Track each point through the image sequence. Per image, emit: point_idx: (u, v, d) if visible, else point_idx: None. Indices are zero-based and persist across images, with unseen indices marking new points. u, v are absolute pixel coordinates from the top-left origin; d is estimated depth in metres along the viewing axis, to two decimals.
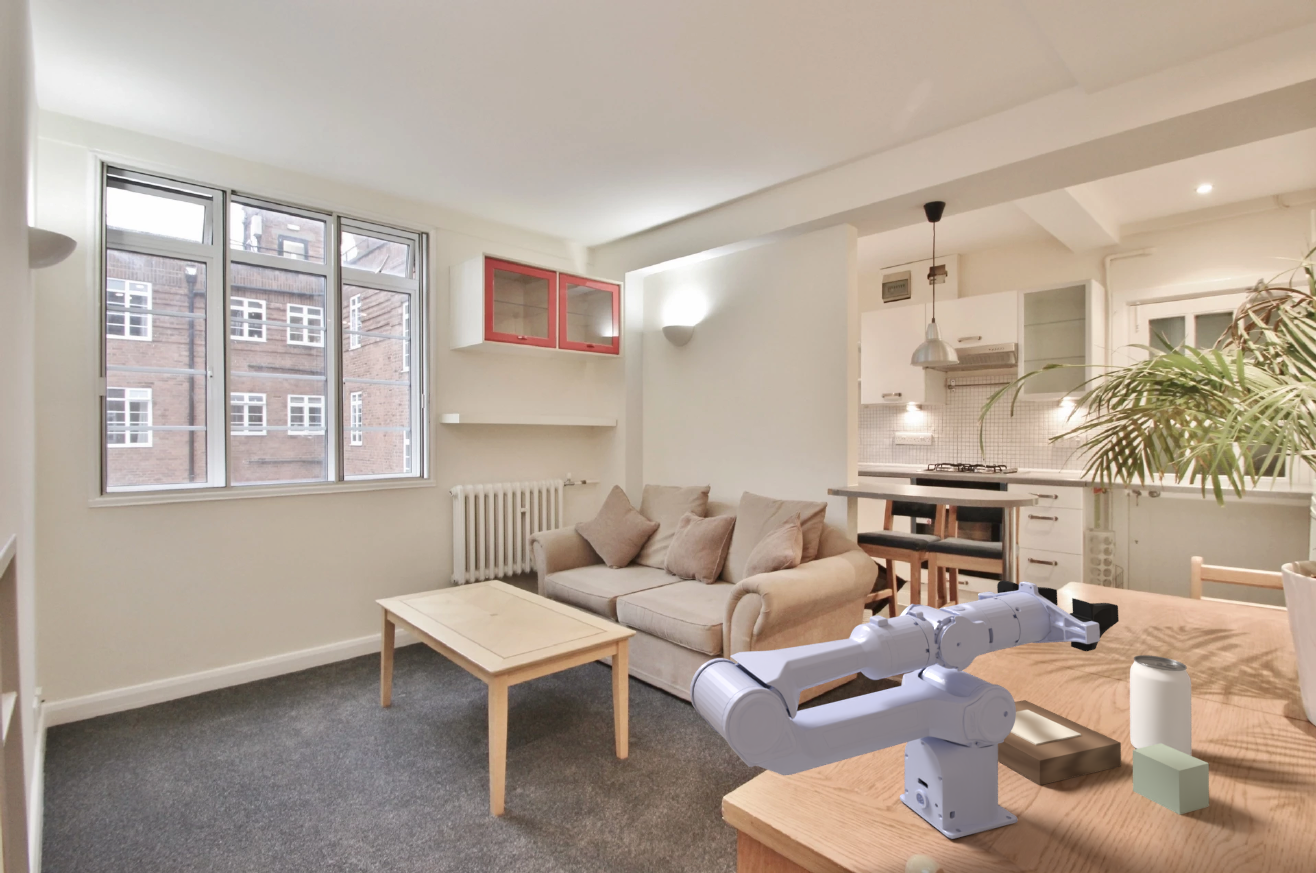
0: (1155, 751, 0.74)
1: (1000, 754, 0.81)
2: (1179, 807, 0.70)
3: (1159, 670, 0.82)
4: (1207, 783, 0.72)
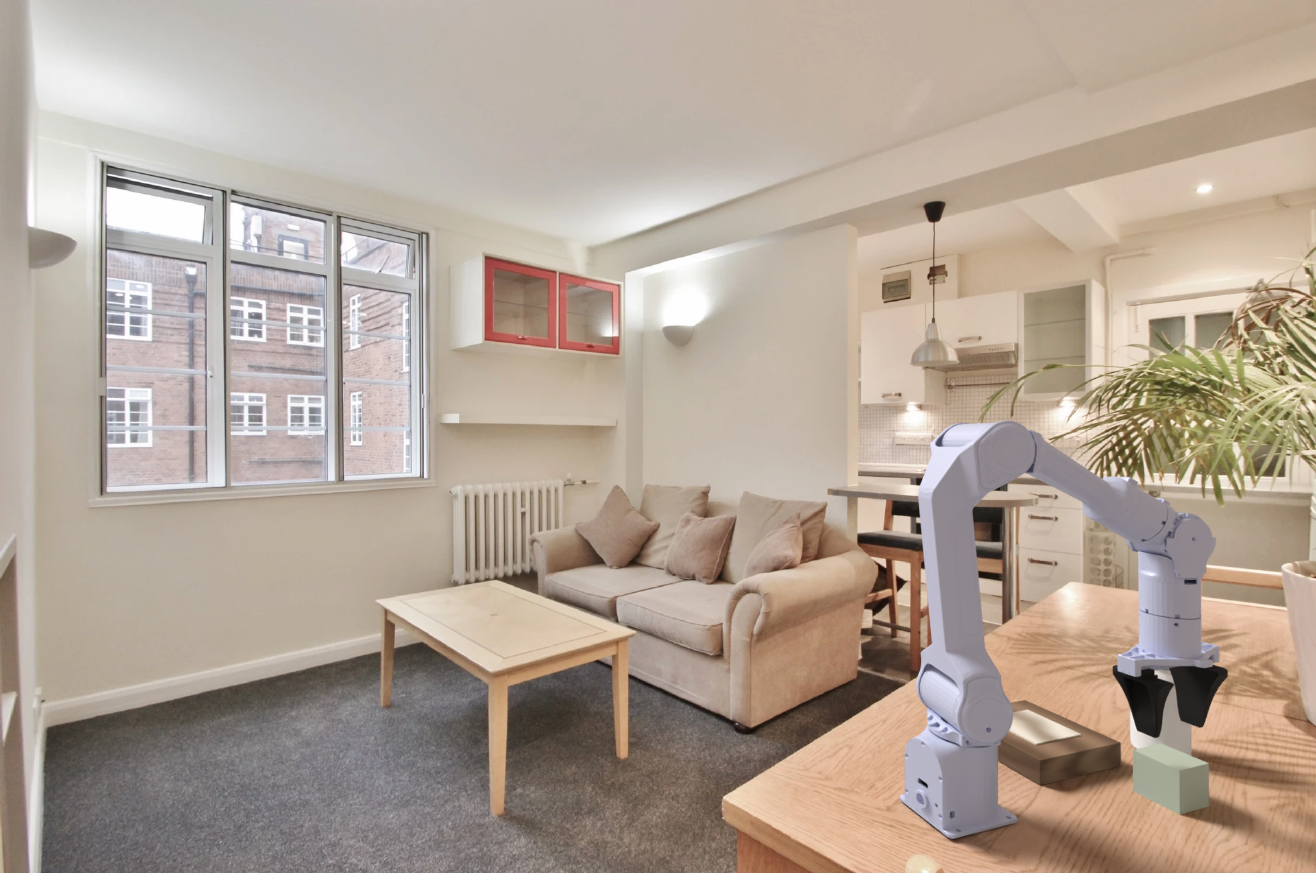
0: (1155, 751, 0.74)
1: (1000, 754, 0.81)
2: (1179, 807, 0.70)
3: (1159, 670, 0.82)
4: (1208, 784, 0.72)
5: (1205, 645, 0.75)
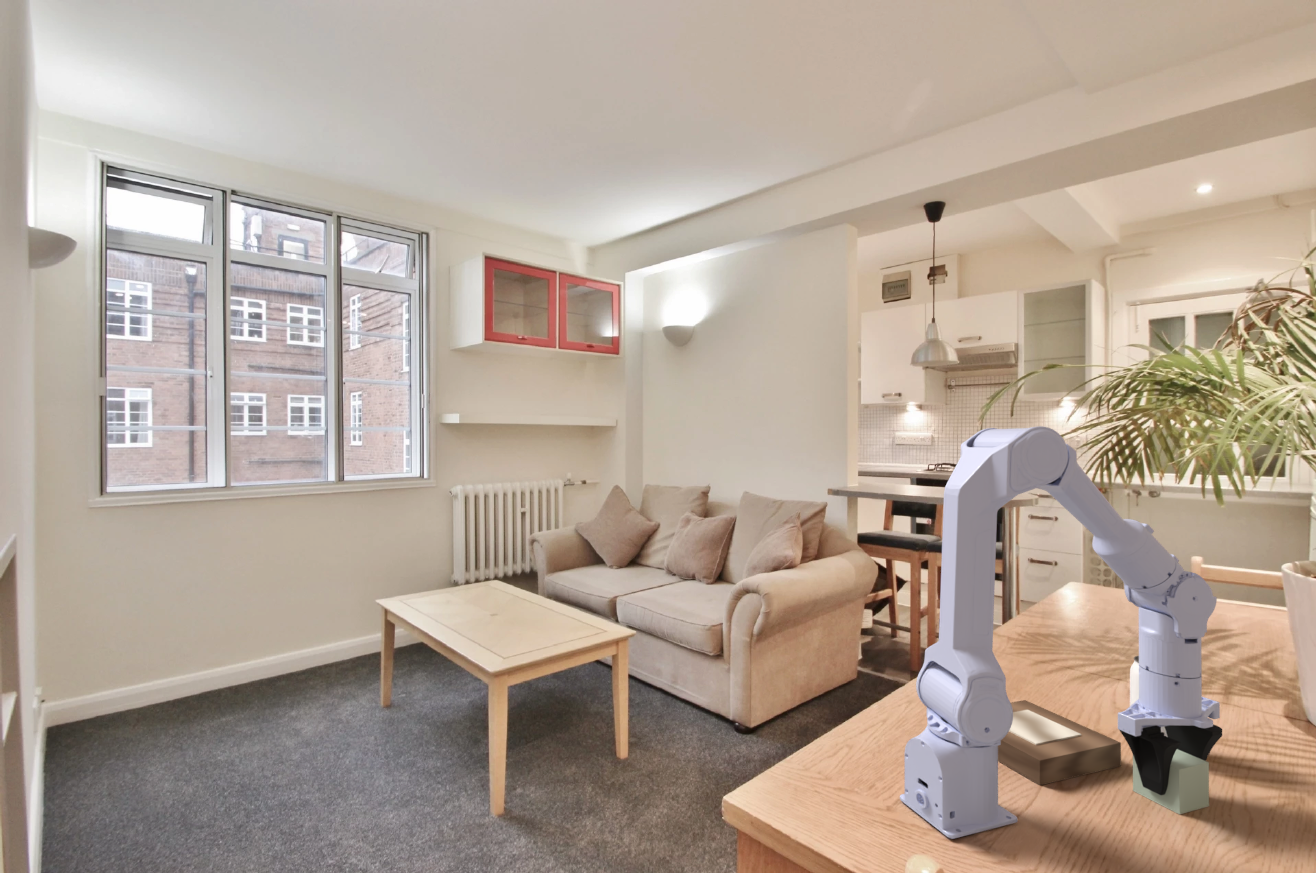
0: None
1: (1000, 754, 0.81)
2: (1179, 806, 0.70)
3: None
4: (1208, 782, 0.72)
5: (1205, 701, 0.75)
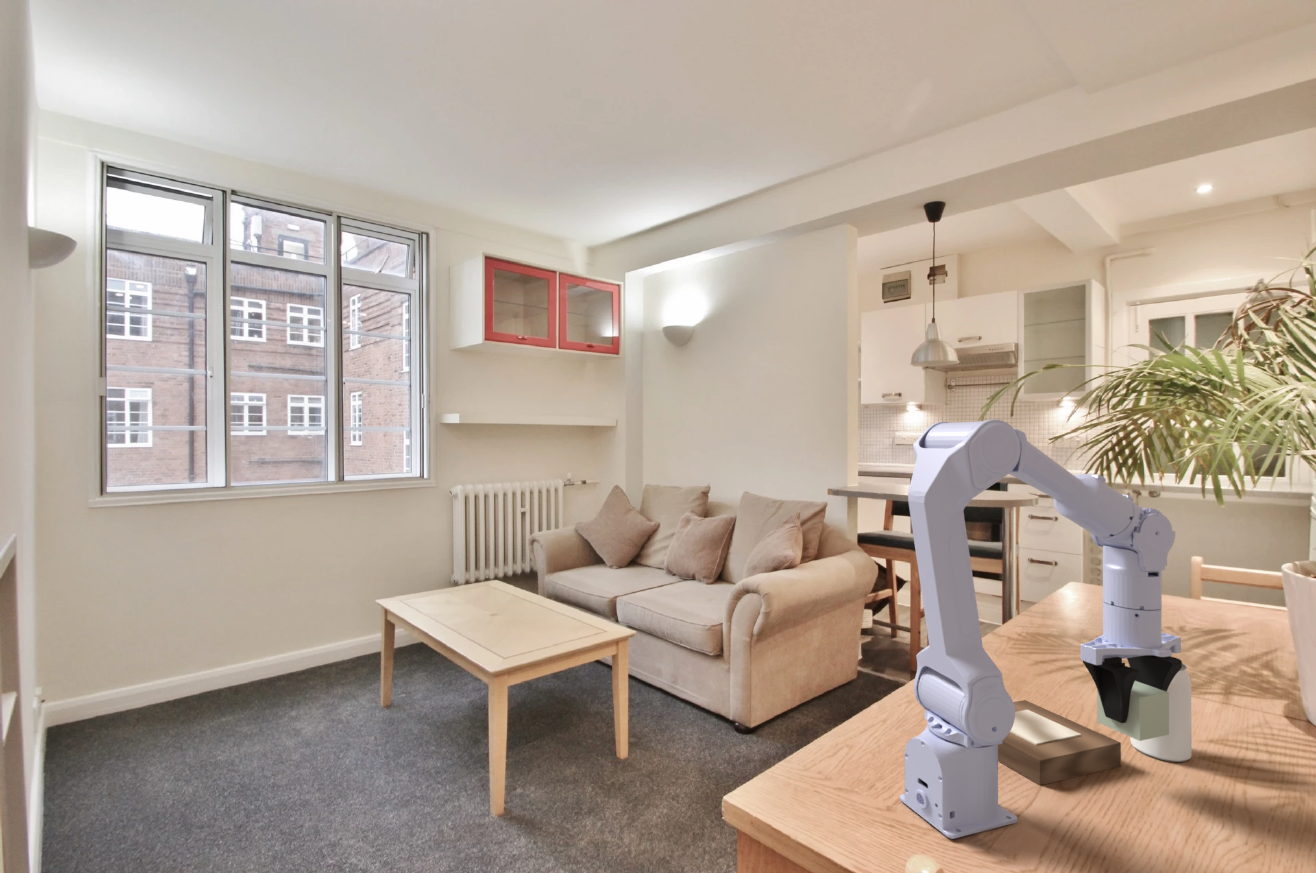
0: None
1: (1000, 754, 0.81)
2: (1139, 733, 0.73)
3: None
4: (1168, 712, 0.74)
5: (1167, 636, 0.78)
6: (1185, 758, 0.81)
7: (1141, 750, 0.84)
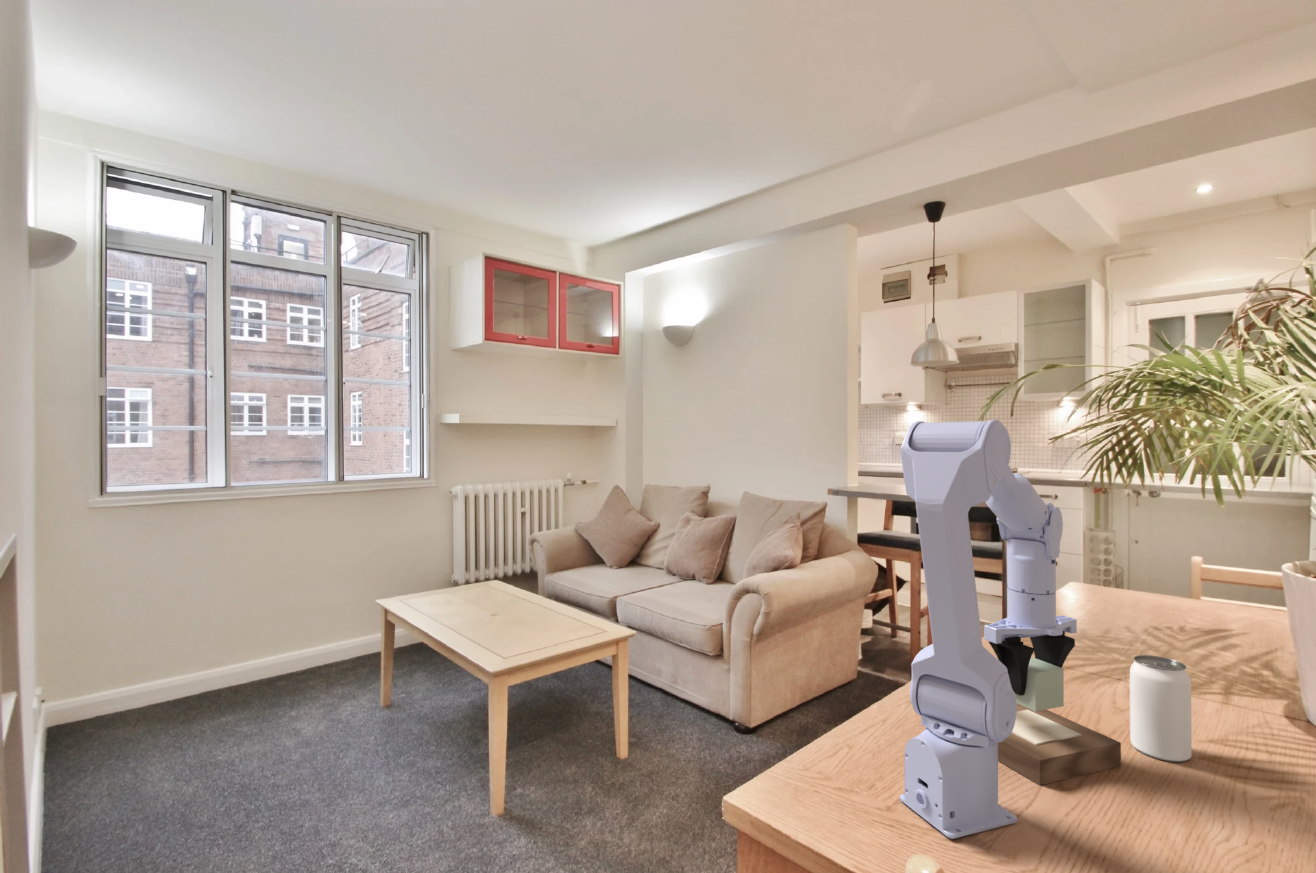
0: None
1: (1000, 754, 0.81)
2: (1035, 704, 0.82)
3: (1159, 670, 0.82)
4: (1062, 686, 0.83)
5: (1065, 618, 0.87)
6: (1185, 758, 0.81)
7: (1141, 750, 0.84)
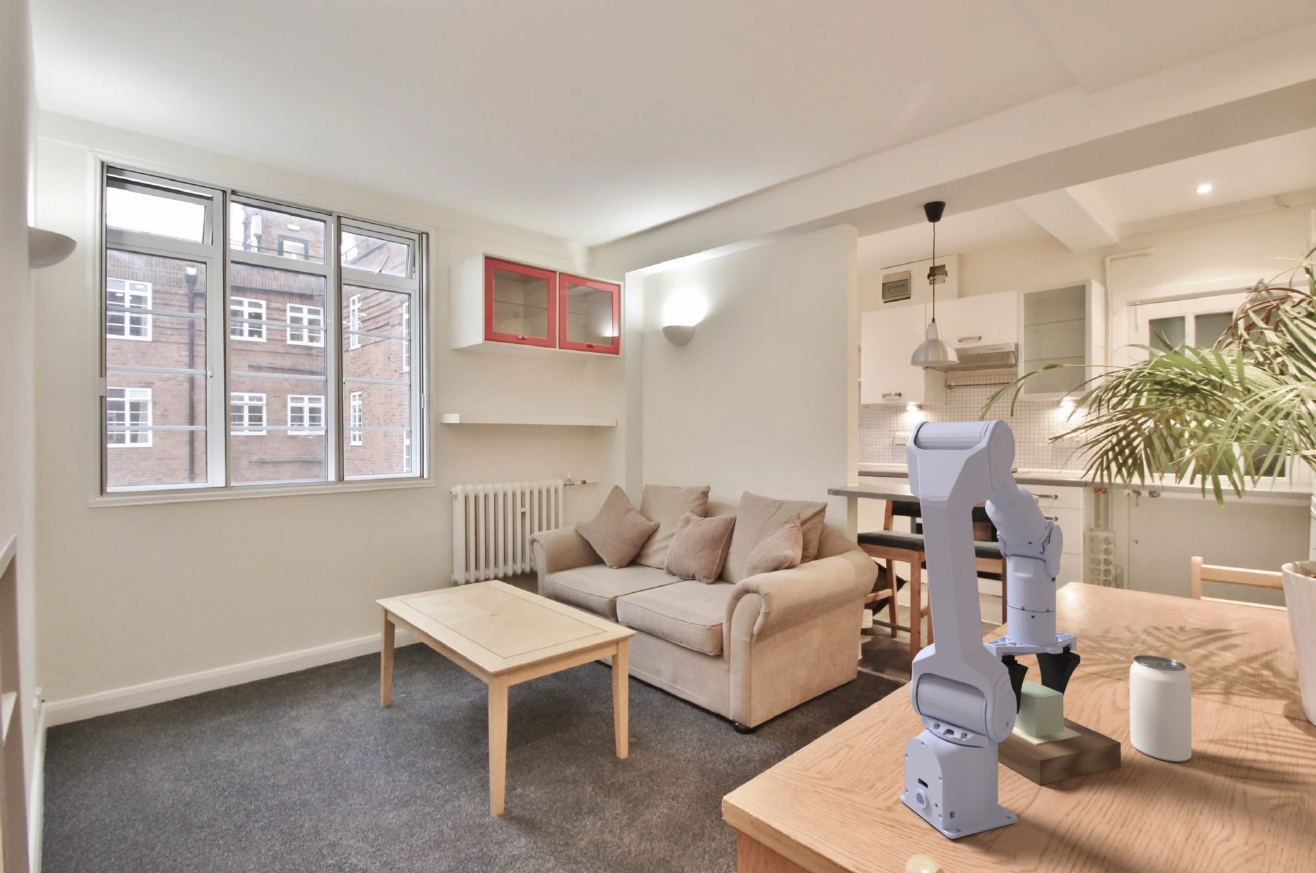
0: None
1: (1000, 754, 0.81)
2: (1035, 730, 0.82)
3: (1159, 670, 0.82)
4: (1062, 711, 0.83)
5: (1065, 635, 0.87)
6: (1185, 758, 0.81)
7: (1141, 750, 0.84)
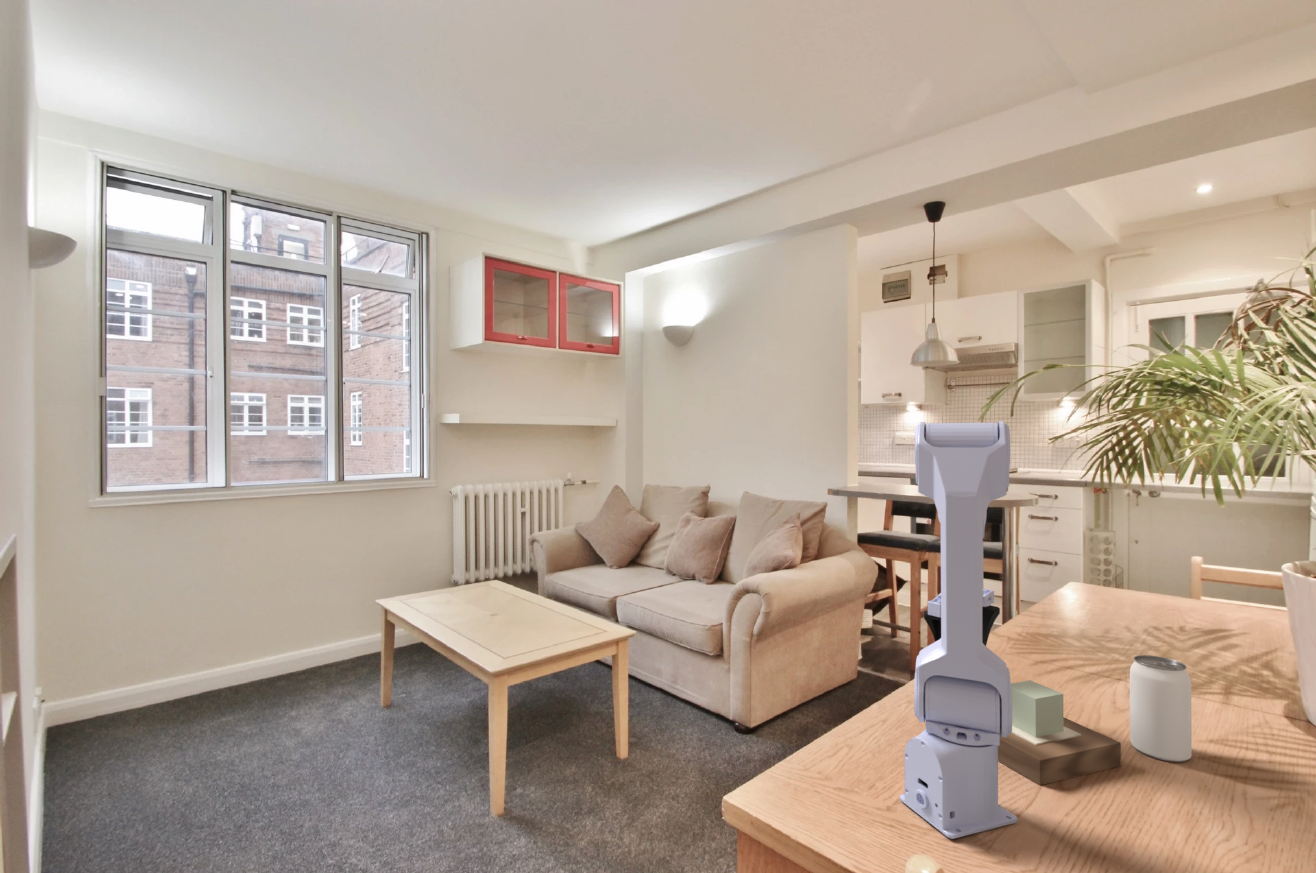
0: (1021, 685, 0.86)
1: (1000, 754, 0.81)
2: (1035, 730, 0.82)
3: (1159, 670, 0.82)
4: (1062, 711, 0.83)
5: (985, 591, 0.97)
6: (1185, 758, 0.81)
7: (1141, 750, 0.84)
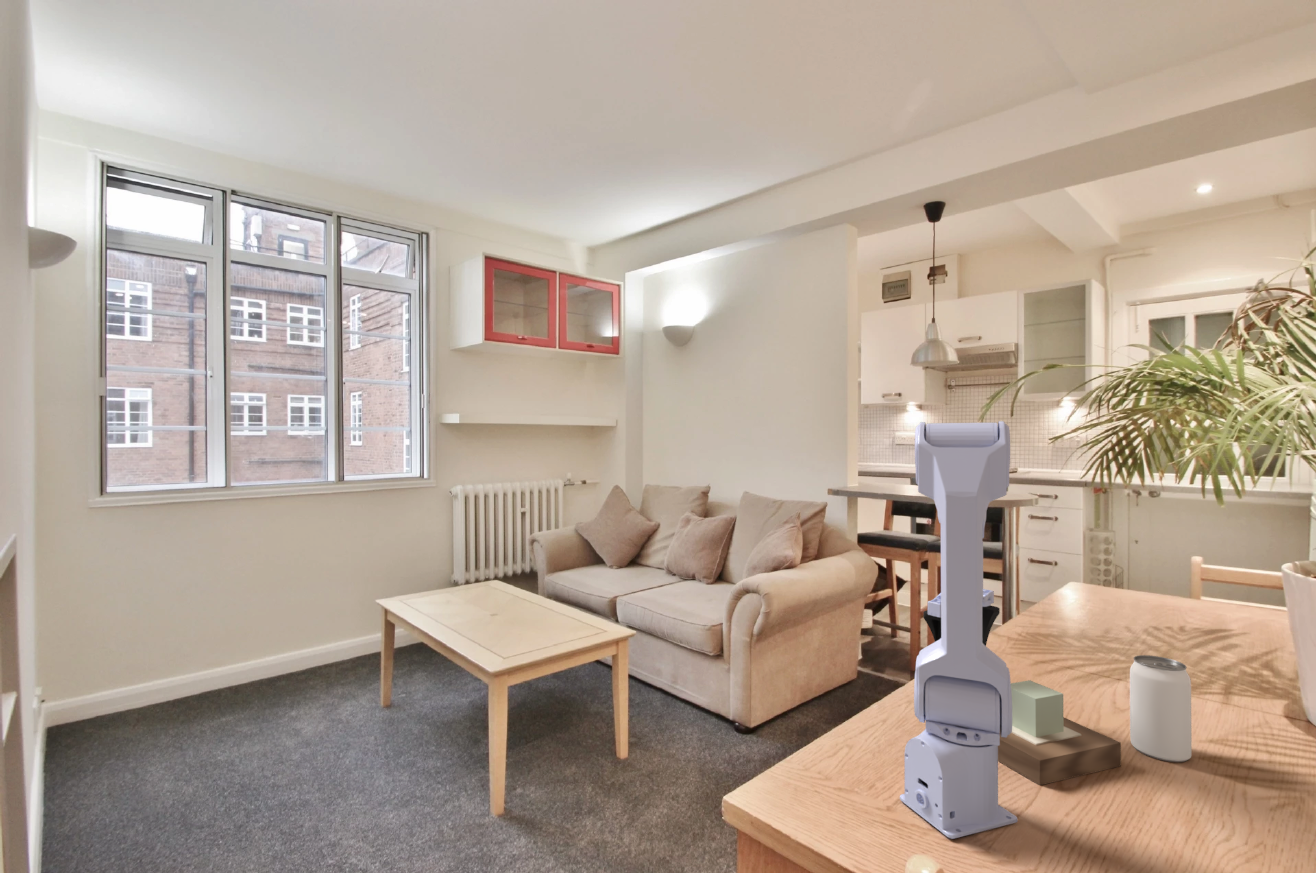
0: (1021, 685, 0.86)
1: (1000, 754, 0.81)
2: (1035, 730, 0.82)
3: (1159, 670, 0.82)
4: (1062, 711, 0.83)
5: (984, 591, 0.97)
6: (1185, 758, 0.81)
7: (1141, 750, 0.84)
